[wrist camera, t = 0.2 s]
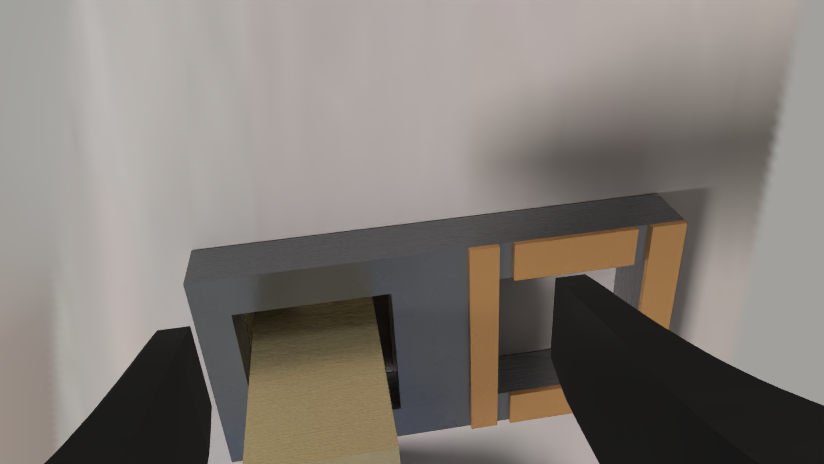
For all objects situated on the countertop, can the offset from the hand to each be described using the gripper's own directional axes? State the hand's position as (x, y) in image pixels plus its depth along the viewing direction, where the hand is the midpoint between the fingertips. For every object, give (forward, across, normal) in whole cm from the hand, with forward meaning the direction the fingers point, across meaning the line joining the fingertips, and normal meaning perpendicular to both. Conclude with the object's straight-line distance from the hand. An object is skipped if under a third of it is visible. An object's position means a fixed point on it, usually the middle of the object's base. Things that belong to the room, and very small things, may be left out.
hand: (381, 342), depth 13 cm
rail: (+10, -3, +7) cm, 12 cm away
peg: (+10, +2, +7) cm, 12 cm away
